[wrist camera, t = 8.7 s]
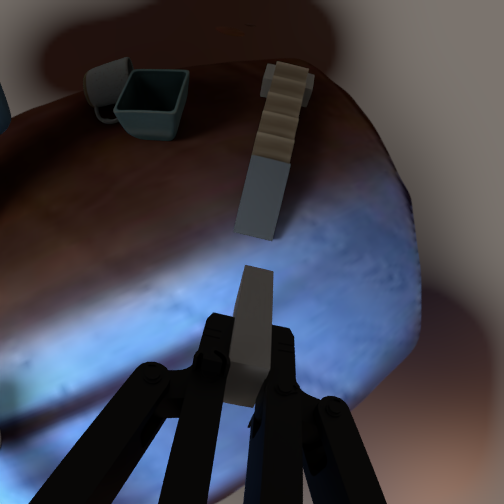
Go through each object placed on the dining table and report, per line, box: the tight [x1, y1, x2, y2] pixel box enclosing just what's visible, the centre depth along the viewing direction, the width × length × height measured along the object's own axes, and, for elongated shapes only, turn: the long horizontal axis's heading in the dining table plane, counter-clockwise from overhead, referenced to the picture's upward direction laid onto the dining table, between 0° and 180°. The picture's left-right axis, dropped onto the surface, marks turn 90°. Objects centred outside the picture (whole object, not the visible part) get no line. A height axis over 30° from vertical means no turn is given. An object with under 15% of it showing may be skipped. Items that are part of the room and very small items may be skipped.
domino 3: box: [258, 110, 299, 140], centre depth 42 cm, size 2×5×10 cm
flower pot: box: [113, 69, 189, 141], centre depth 41 cm, size 9×9×9 cm
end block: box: [260, 64, 315, 107], centre depth 47 cm, size 4×8×4 cm, turn 78°
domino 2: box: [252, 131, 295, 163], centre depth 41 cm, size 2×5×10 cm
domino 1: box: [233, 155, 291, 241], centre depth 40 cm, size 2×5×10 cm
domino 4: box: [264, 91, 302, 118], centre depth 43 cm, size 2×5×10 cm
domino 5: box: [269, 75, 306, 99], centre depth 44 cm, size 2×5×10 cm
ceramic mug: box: [83, 57, 134, 124], centre depth 42 cm, size 11×8×8 cm
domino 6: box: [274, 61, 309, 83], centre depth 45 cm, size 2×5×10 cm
